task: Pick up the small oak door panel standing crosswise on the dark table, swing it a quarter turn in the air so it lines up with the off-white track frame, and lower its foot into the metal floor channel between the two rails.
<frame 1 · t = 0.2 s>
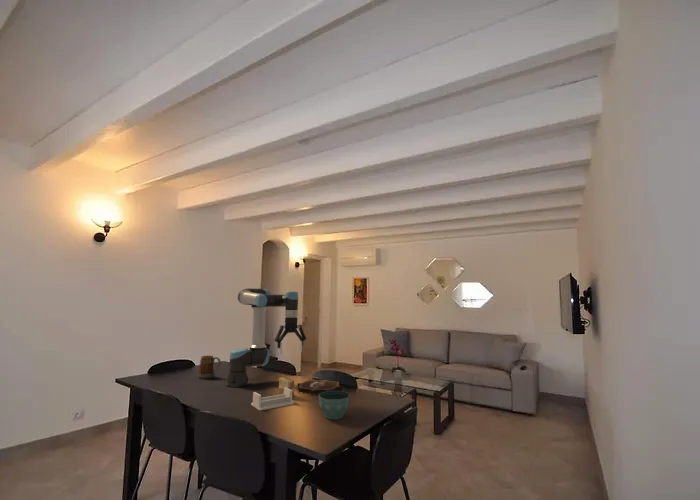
hand: (290, 352, 224), 26 cm above the table, fingers open, 13 cm apart
flower pot: (333, 417, 189), on the table
door panel: (286, 396, 225), on the table
decorative plaque: (319, 389, 243), on the table
track: (272, 404, 208), on the table
mug: (209, 378, 270), on the table
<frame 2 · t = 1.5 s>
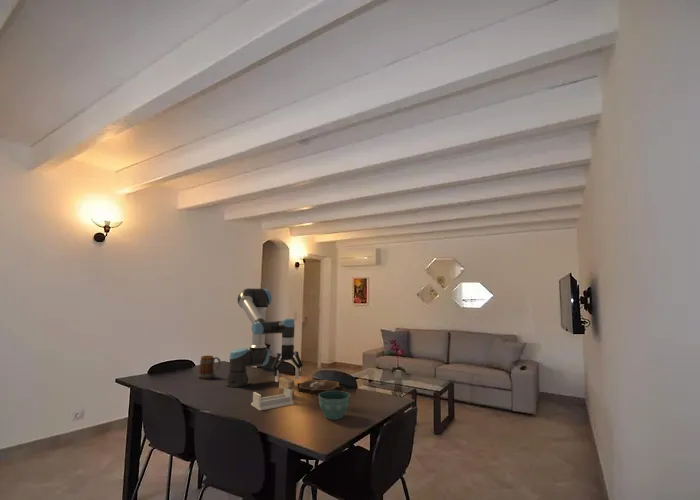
hand: (286, 380, 226), 9 cm above the table, fingers open, 13 cm apart
nothing on the table moved.
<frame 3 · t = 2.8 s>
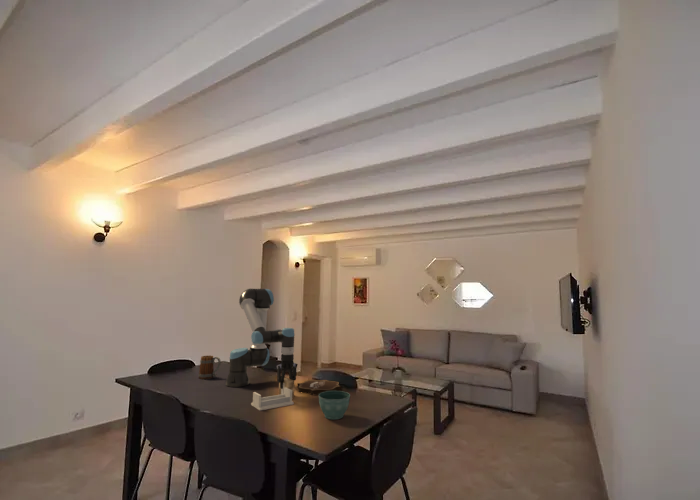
hand: (286, 393, 225), 2 cm above the table, fingers closed on door panel, 4 cm apart
door panel: (286, 396, 225), on the table, touching gripper
everything else where it was.
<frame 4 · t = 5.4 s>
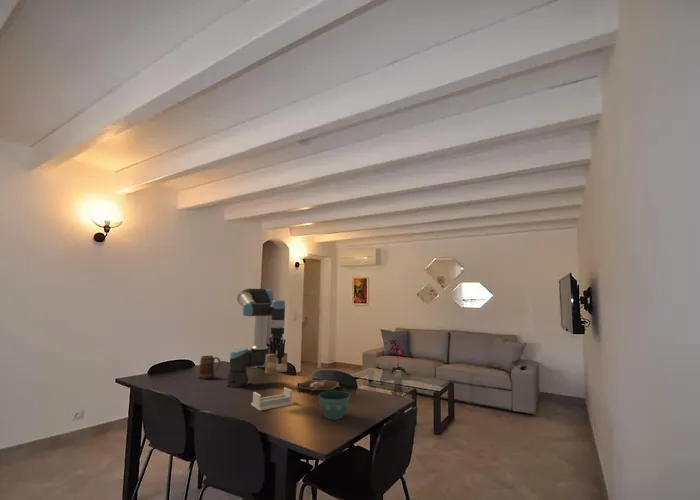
hand: (276, 368, 212), 19 cm above the table, fingers closed on door panel, 4 cm apart
door panel: (276, 371, 212), point 17 cm above the table, touching gripper
everything else where it was.
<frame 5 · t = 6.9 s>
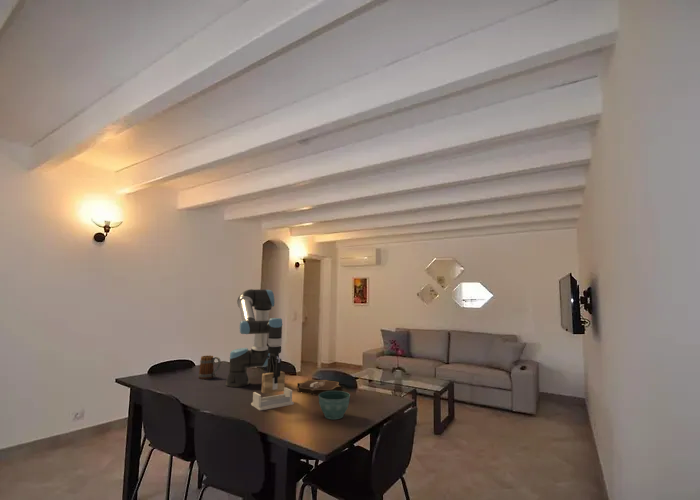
hand: (273, 388, 209), 9 cm above the table, fingers closed on door panel, 4 cm apart
door panel: (272, 391, 209), point 7 cm above the table, touching gripper
everything else where it was.
when the fingers open (5 cm above the table, at t = 8.1 s): door panel drops 2 cm, resting on track.
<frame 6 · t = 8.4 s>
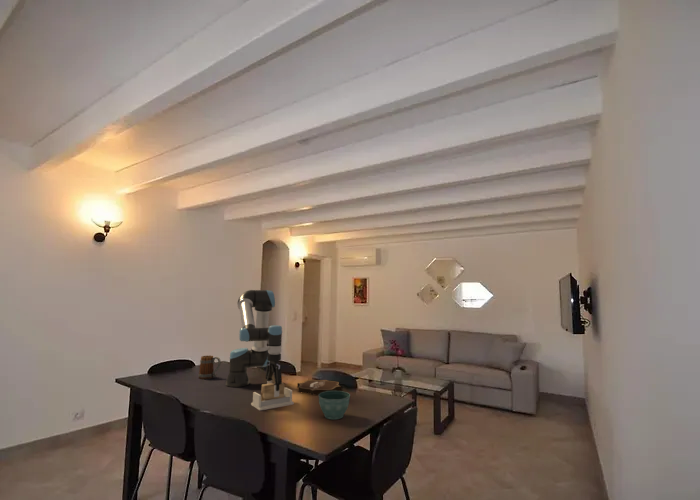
hand: (272, 394, 208), 5 cm above the table, fingers open, 9 cm apart
door panel: (272, 402, 208), point 1 cm above the table, touching track
everything else where it was.
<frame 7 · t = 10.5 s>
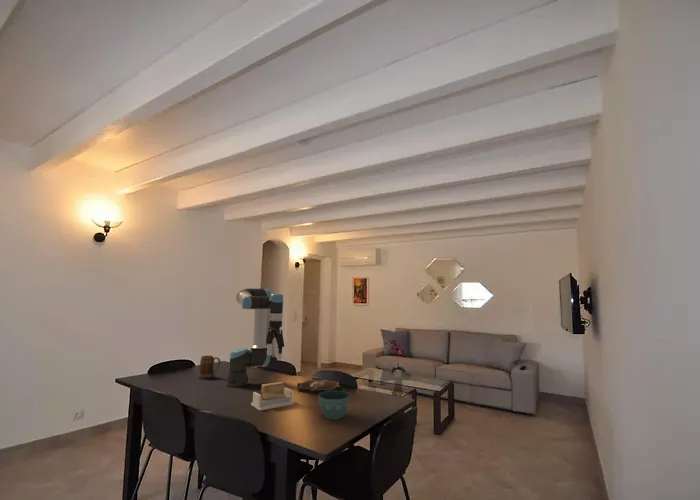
hand: (274, 357, 218), 25 cm above the table, fingers open, 13 cm apart
nothing on the table moved.
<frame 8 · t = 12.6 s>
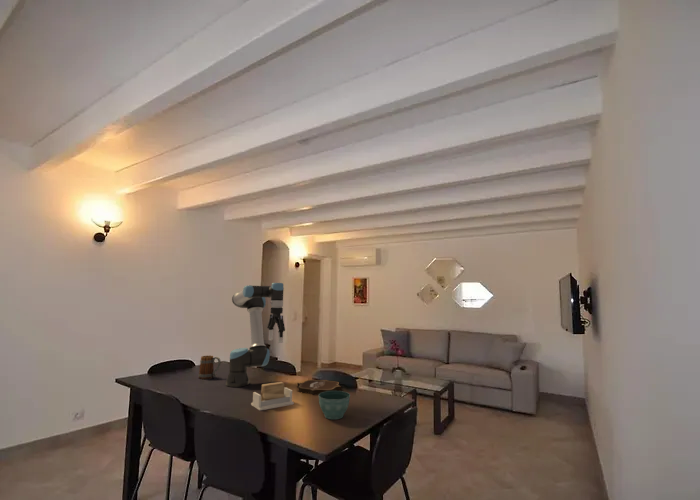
hand: (275, 341, 233), 32 cm above the table, fingers open, 13 cm apart
nothing on the table moved.
at the end: door panel 0.1 cm off-centre on the track, point 1.2 cm above the track's base; door panel tilted 0°; the gripper is holding nothing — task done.
